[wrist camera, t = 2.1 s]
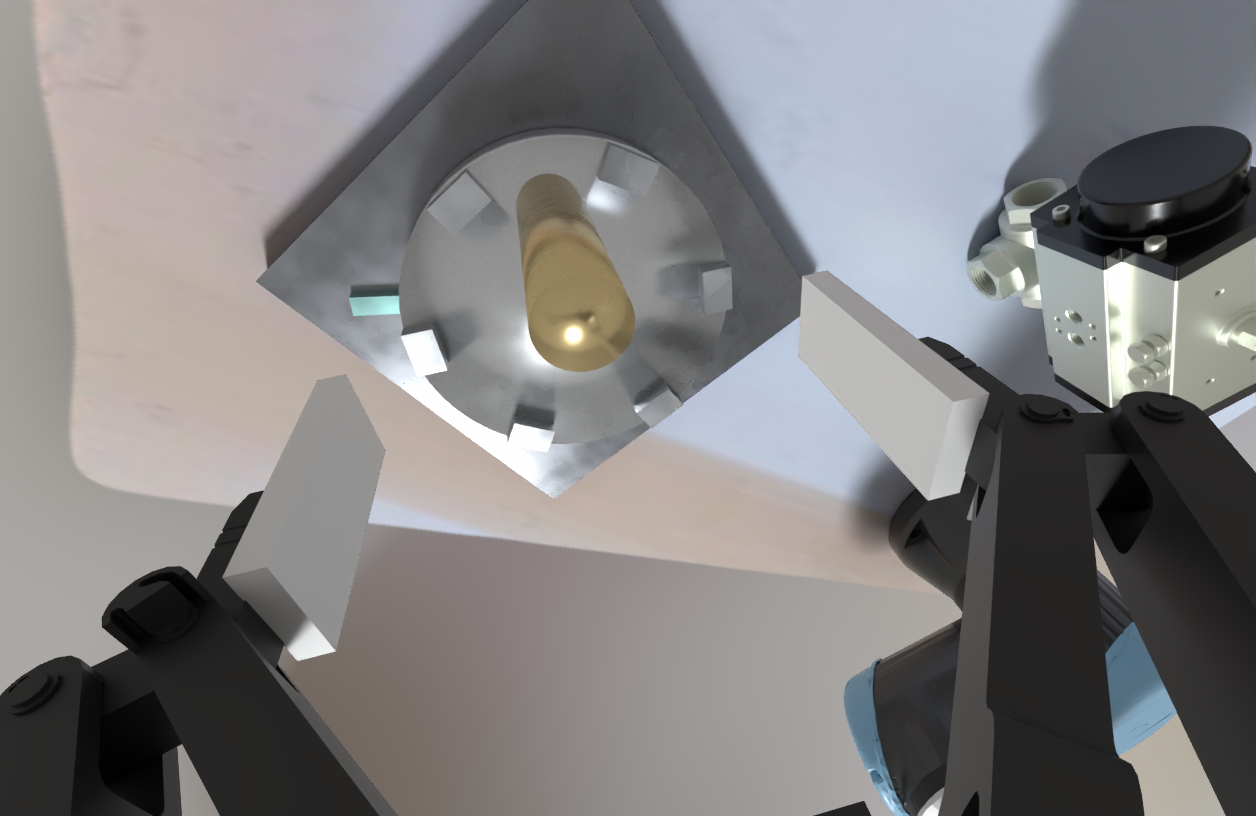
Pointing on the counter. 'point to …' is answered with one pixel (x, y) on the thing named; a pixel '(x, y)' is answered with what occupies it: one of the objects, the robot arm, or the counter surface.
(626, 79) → the base plate
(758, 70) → the counter surface
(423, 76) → the counter surface
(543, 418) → the silver tabbed disc
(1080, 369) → the ball valve
